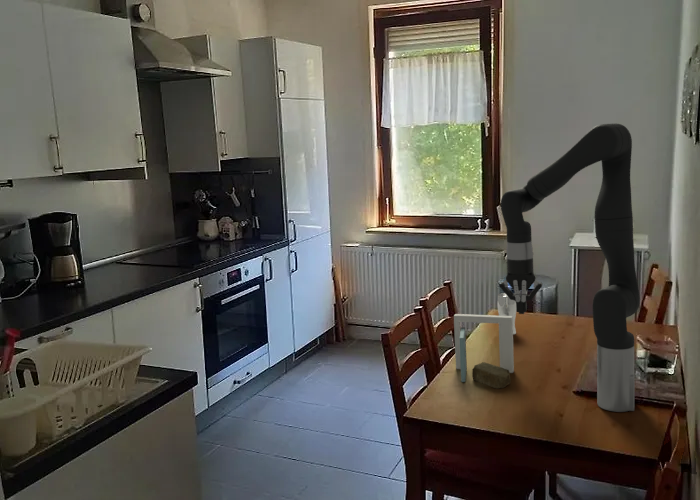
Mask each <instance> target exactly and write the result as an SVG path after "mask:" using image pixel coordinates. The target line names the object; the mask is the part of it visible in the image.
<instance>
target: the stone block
mask: <svg viewBox="0 0 700 500" xmlns="http://www.w3.org/2000/svg"><path fill="white" fill-rule="evenodd" d="M471 371H472V372H471V374H472V380H473V381H475V382H477V383H481V384H484V385H486V386H489V387H491V388H494V389H496V390H498V389H504V388H506V386H508V385H510V384H511V376H510V374H511V373H509V370H507V369H504V368H502V367H500V365H495V364H491V363H487V362H485V361H483V362H480V363H478V364H475V365H474V367H473V368H472V370H471Z"/></svg>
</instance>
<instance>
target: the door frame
mask: <svg viewBox="0 0 700 500" xmlns="http://www.w3.org/2000/svg"><path fill="white" fill-rule="evenodd" d="M461 323H479V324H480V323H481V324H498V345H499V346H498V347H499V367H502V368H504V369H507V370H509V374H513V373H514V372H515V368H514V367H515V366H514V365H515V361H514V360H515V359H514V335H513V319H512V316H499V315H494V314H493V315H492V314H491V315H489V314H472V313H471V314H470V313H469V314H466V313H464V314H463V313H455V314H454V315H453V327H454V328H453V330H454V331H453V332H454V333H453V334H454V353H455V354H454V355H455V369H456V370H461V363H460V332H461Z"/></svg>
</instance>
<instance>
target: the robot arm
mask: <svg viewBox="0 0 700 500" xmlns="http://www.w3.org/2000/svg"><path fill="white" fill-rule="evenodd" d="M632 146H633V139H632V134H631V133H630V131H629V129H628V128H627V127H626V126H625V125H624V124H621V123H601V124H598V125H595V126H593V127H592V128H591V129H590V130H588V131H587V132H586V133H585V134H584V135H583V136H582V137H581V138H580V139H579V140H578V141H577V142H576V143H575V144H574V145H573V146H572V147H571V148H570V149H569V150H567V151H566V152H565V153H563V154H562V156H560V157H559V158H558V159H556V160H555V161H554V162H552V163H550V164H549V165H547V166H546V167H544V168H543V169H542V170H540V171H539V172H537V173H536V174H534V175H533V176H531V177H530V178H529V179H528V180H527V183H526V185H524V186H522V187H520V188H516V189H510V190H507V191H505V192H504V193H503V194H502V196H501V199H500V210H501V214H502V217H503V221H504V224H505V228H506V270H507V273H506V276H505V279H504V280H503V281H501V282H500V283H499V285H498V287H499V288H500V289H501V291H503V293H505V294H506V295H507V296H508V297H509V298H510V299H511V300H514V301H516V313H518V315H524V314H525V313H526V312H527V310H528V309H527V308H528V307H527V306H528V305H527V304H528V303H527V302H528V301H532V300H533V298H534V297H536V294H537V293H538V292H539V291H540V290H541V288H542V287H543V282H542V281H538V280H537V278H536V276H535V274H534V252H533V250H534V247H533V243H532V242H533V241H532V224H530V222H529V221H526V220H525V219H524V215H523V213H526V212H529V211H531V210H533V209H534V208H535V207H536V206H538V205H539V204H540V203H541V202H542V201H543V200H544V199H545V198H547V197H549V196H552V194H553V193H555V192H557V191H559V190H560V189H561V188H563V187H564V186H565V185H566V184H567V183H568V182H570V180H572V178H573V177H574V176H575V175H577V174H578V173H579V172H580V171H583V170H584V169H585V168H587V167H589V166H591V165H593V164H596V163H598V162H601V170H602V178H601V179H602V180H601V186H600V190H599V193H598V194H597V200H596V202H595V205H594V207H595V208H594V231H595V232H594V233H595V238H596V241H597V244H598V246H599V248H600V250H601V252H602V254H603V255H604V258H605V261H606V264H607V267H608V268H607V269H608V286H606V287H602V288H600V289H599V290H597V292H595V294H594V296H593V300H592V320H593V321H592V324H593V331H594V332H593V333H594V336H595V337H596V375H597V376H596V378H597V379H596V384H597V385H596V388H597V389H596V391H597V393H596V398H597V400H596V401H597V406H598V407H599V408H601V409H602V410H606V411H610V412H617V413H624V412H628V411H629V412H635V336H634V334H633V333H632V332H630V331H628V327H627V318H629V317H631V316H632V315H634V314H636V312H637V311H638V309H639V308H640V303H641V299H640V298H641V297H640V289H639V286H638V285H639V284H638V283H639V282H638V278H637V271H636V264H635V245H634V218H633V217H634V216H633V215H634V214H633V206H632V204H633V203H632V188H631V186H632V185H631V166H632V165H631V163H632V150H633V147H632ZM532 285H533V289H532V291H531V292H530V293H529V294H528V290H529V289H530V287H532ZM509 286H510V287H511V289H512V290H513V291H514V294H515V295H514V294H513V291H512V290H511V289H510V288H509Z"/></svg>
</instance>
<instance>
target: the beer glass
mask: <svg viewBox="0 0 700 500" xmlns="http://www.w3.org/2000/svg"><path fill="white" fill-rule="evenodd" d="M512 293H513V292H512ZM513 294H514V295H515V292H514V293H513ZM497 311H498V316H512V319H513V336H515V335H516V334H517V331H516V330H517V329H516V325H515V324H516V315H517V311H516V301H514V300H511V299H510V298H509V297H508V296H507V295H506V294H505V292H502V293H498V294H497Z"/></svg>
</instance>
